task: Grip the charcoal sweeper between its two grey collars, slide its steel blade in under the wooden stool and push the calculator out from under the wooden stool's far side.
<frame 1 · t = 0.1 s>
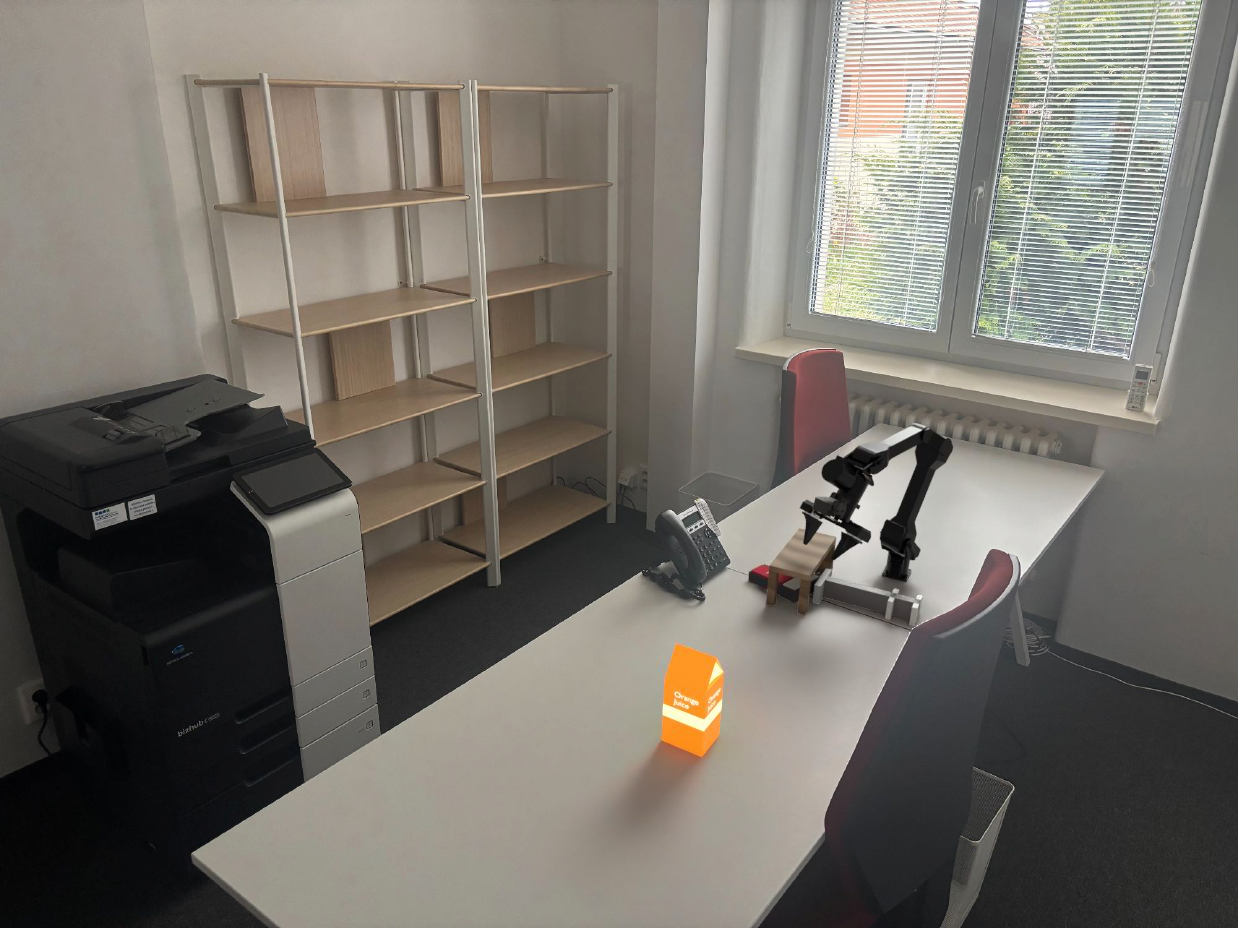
hand: (818, 551, 210), 15 cm above the table, tool tilted 35°, fingers open, 9 cm apart
sweeper: (902, 616, 212), on the table
wooden stool: (799, 588, 223), on the table
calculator: (783, 586, 225), on the table
orange juice: (690, 738, 169), on the table
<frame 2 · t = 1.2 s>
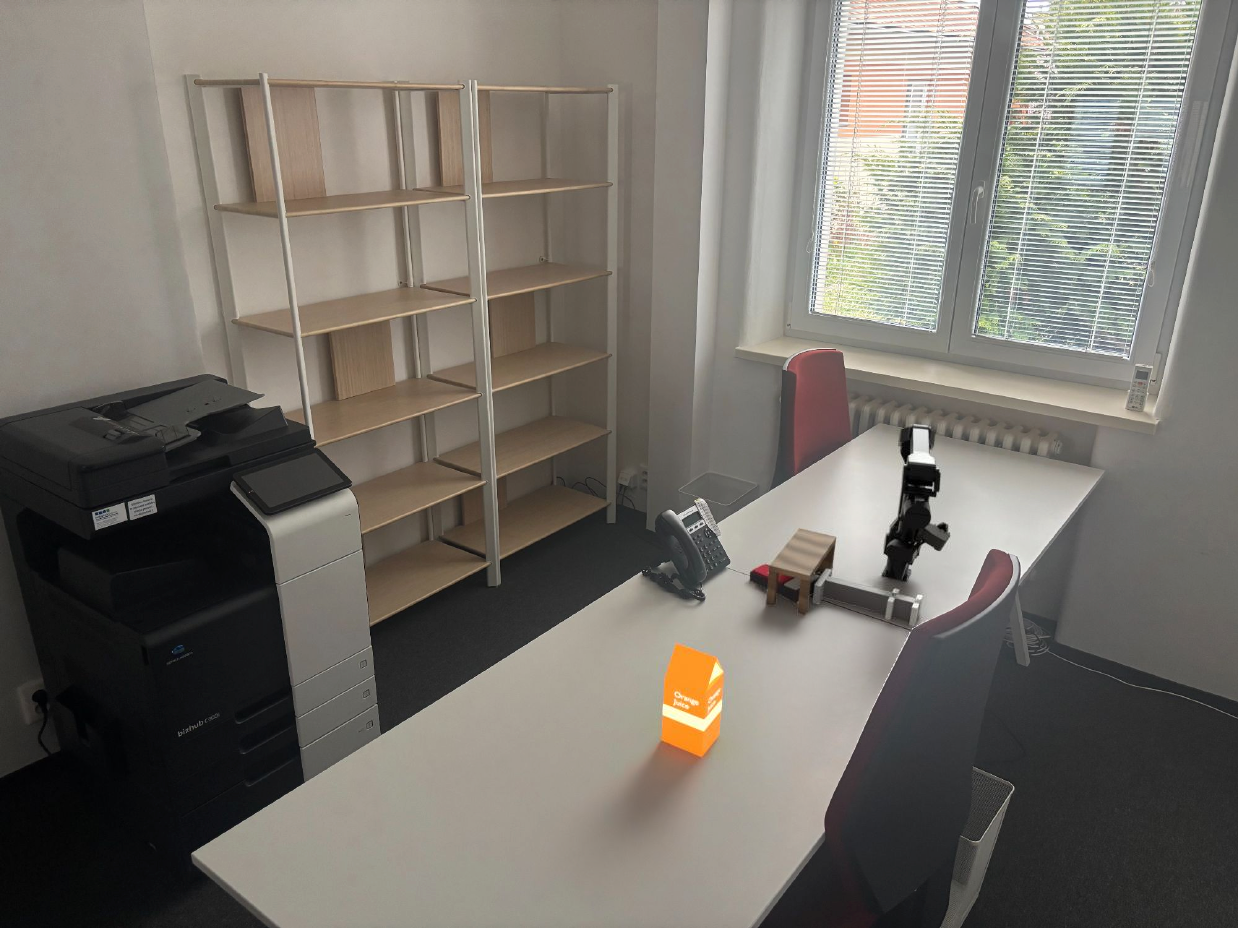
hand: (904, 571, 208), 12 cm above the table, tool pointing down, fingers open, 9 cm apart
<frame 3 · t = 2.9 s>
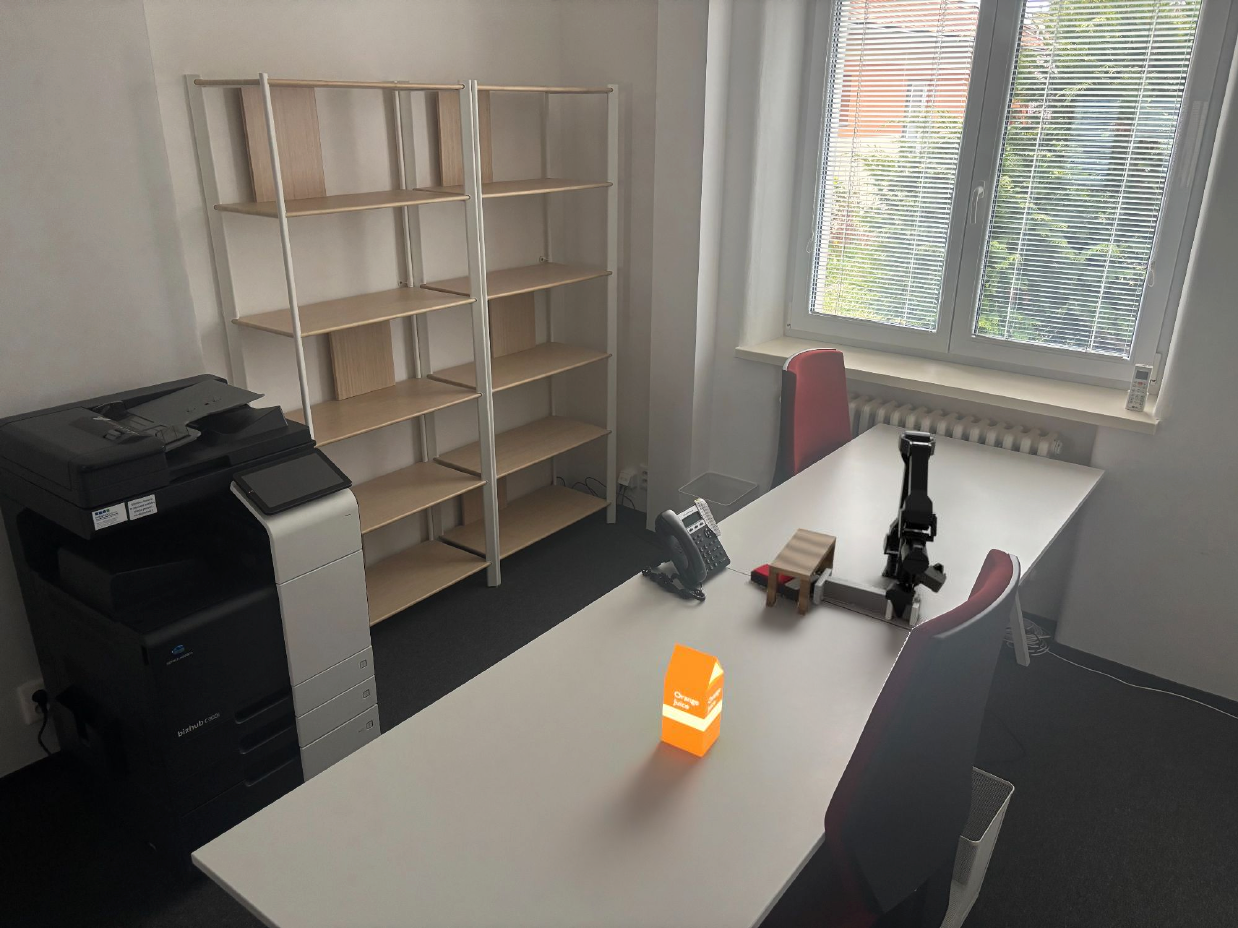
hand: (901, 611, 212), 1 cm above the table, tool pointing down, fingers closed on sweeper, 6 cm apart
sweeper: (902, 615, 212), on the table, touching gripper
everything else where it was.
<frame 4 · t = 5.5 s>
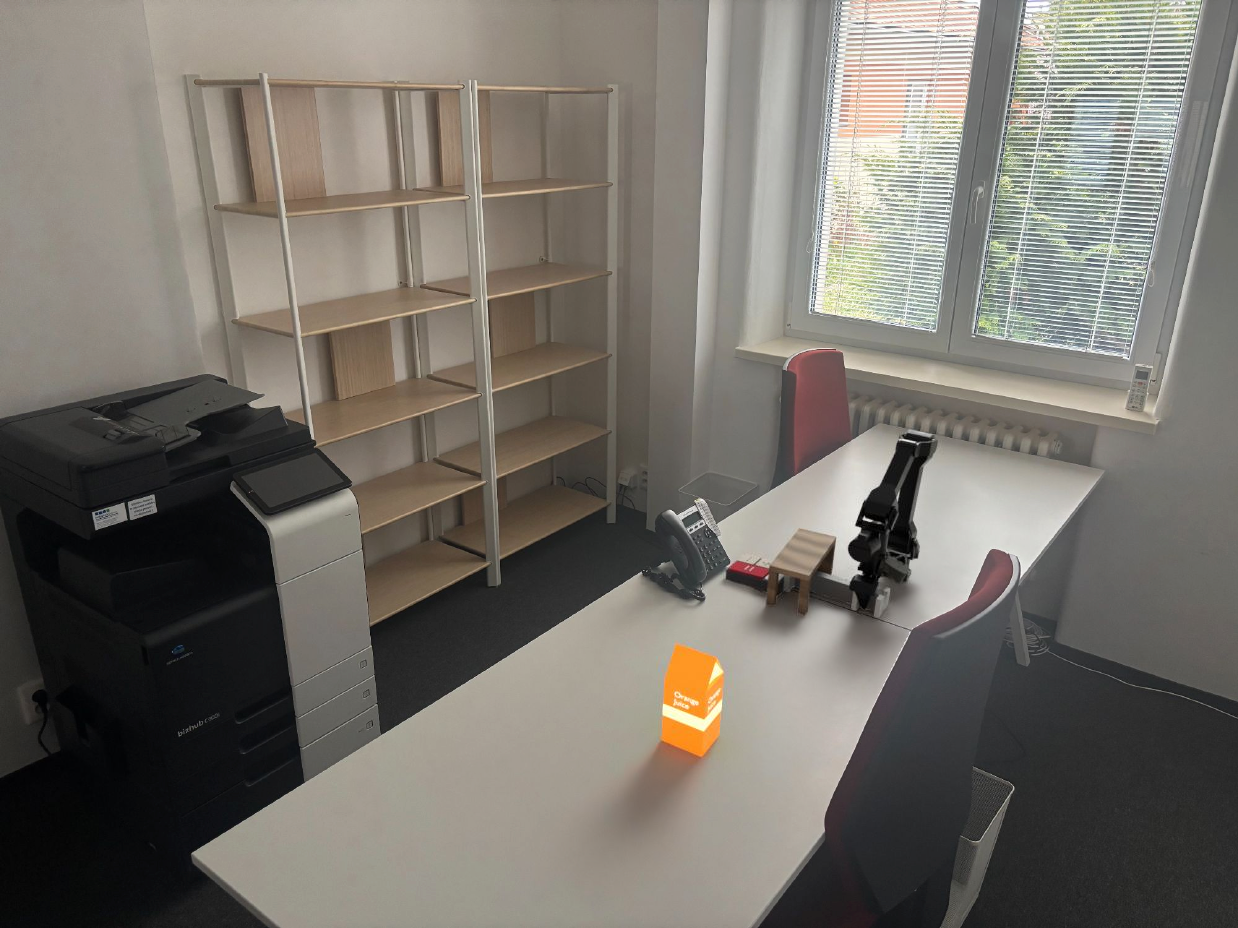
hand: (866, 602, 216), 1 cm above the table, tool pointing down, fingers closed on sweeper, 7 cm apart
sweeper: (869, 607, 215), on the table, touching gripper
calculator: (759, 580, 228), on the table
everything else where it was.
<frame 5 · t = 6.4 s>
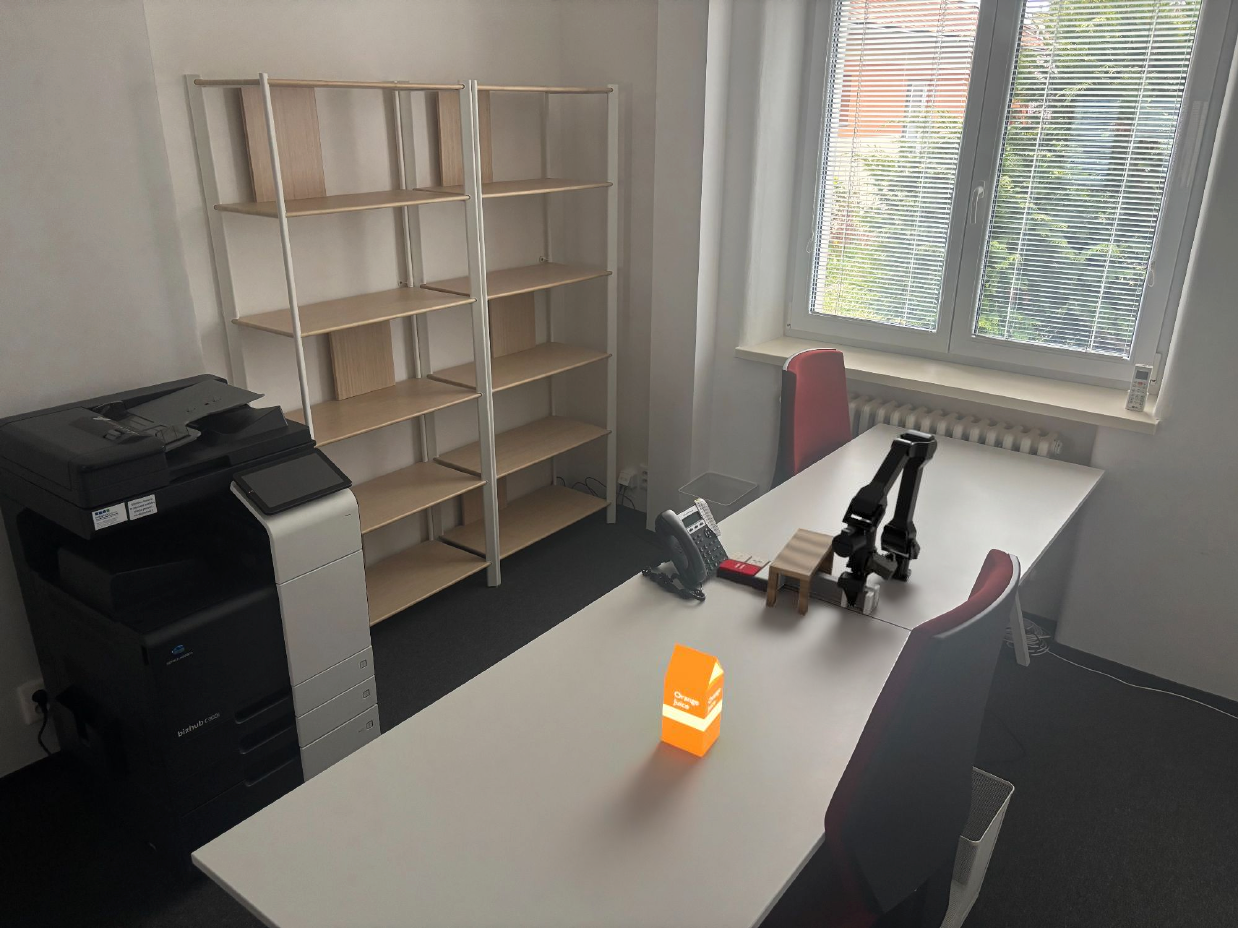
hand: (855, 599, 217), 1 cm above the table, tool pointing down, fingers closed on sweeper, 7 cm apart
sweeper: (859, 604, 216), on the table, touching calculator, gripper
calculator: (750, 578, 229), on the table, touching sweeper
everything else where it was.
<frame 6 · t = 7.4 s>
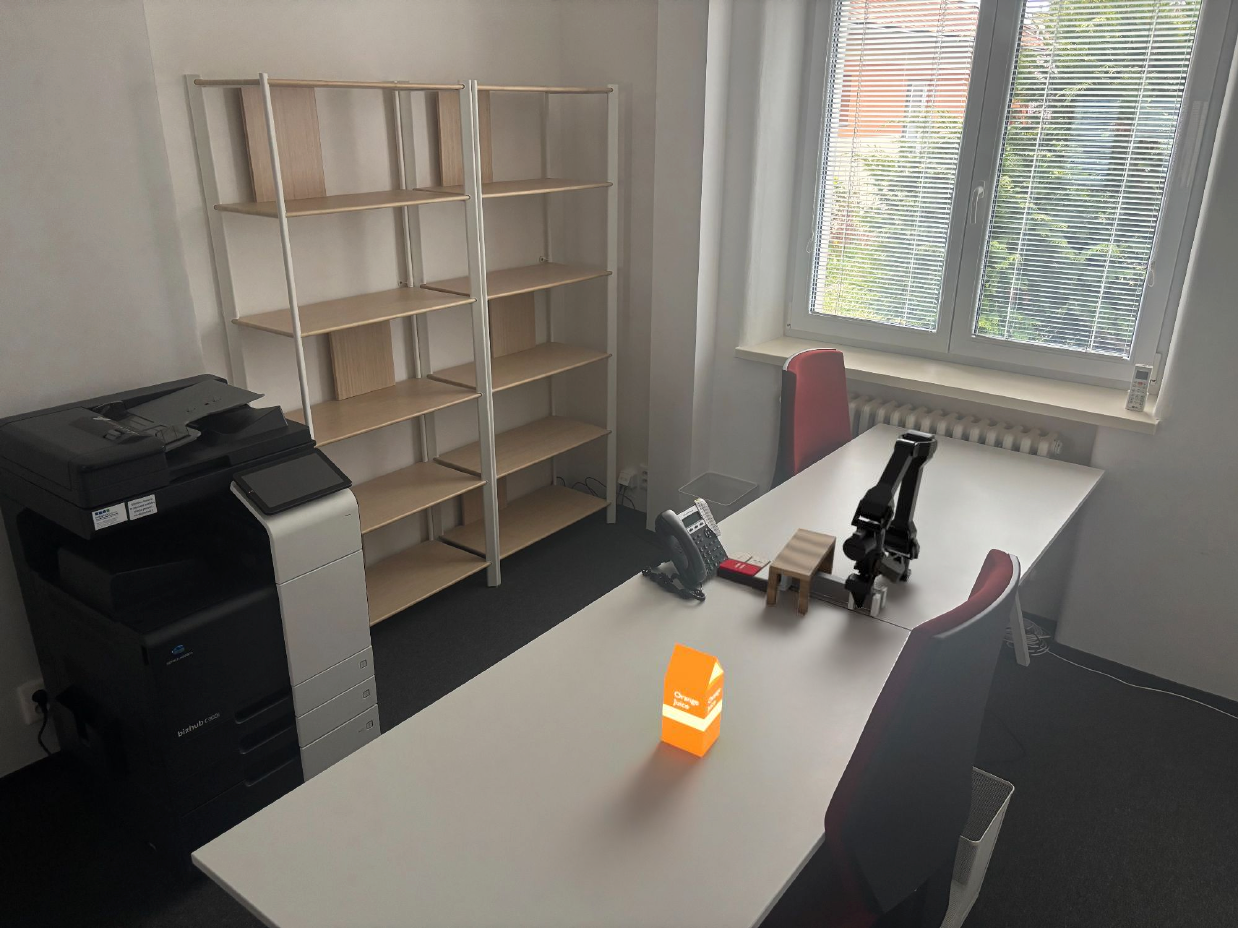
hand: (862, 601, 216), 1 cm above the table, tool pointing down, fingers closed on sweeper, 7 cm apart
sweeper: (866, 606, 216), on the table, touching gripper
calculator: (750, 578, 229), on the table
everything else where it was.
when the fingers open (1 cm above the table, at t = 9.4 s): sweeper stays where it is, on the table.
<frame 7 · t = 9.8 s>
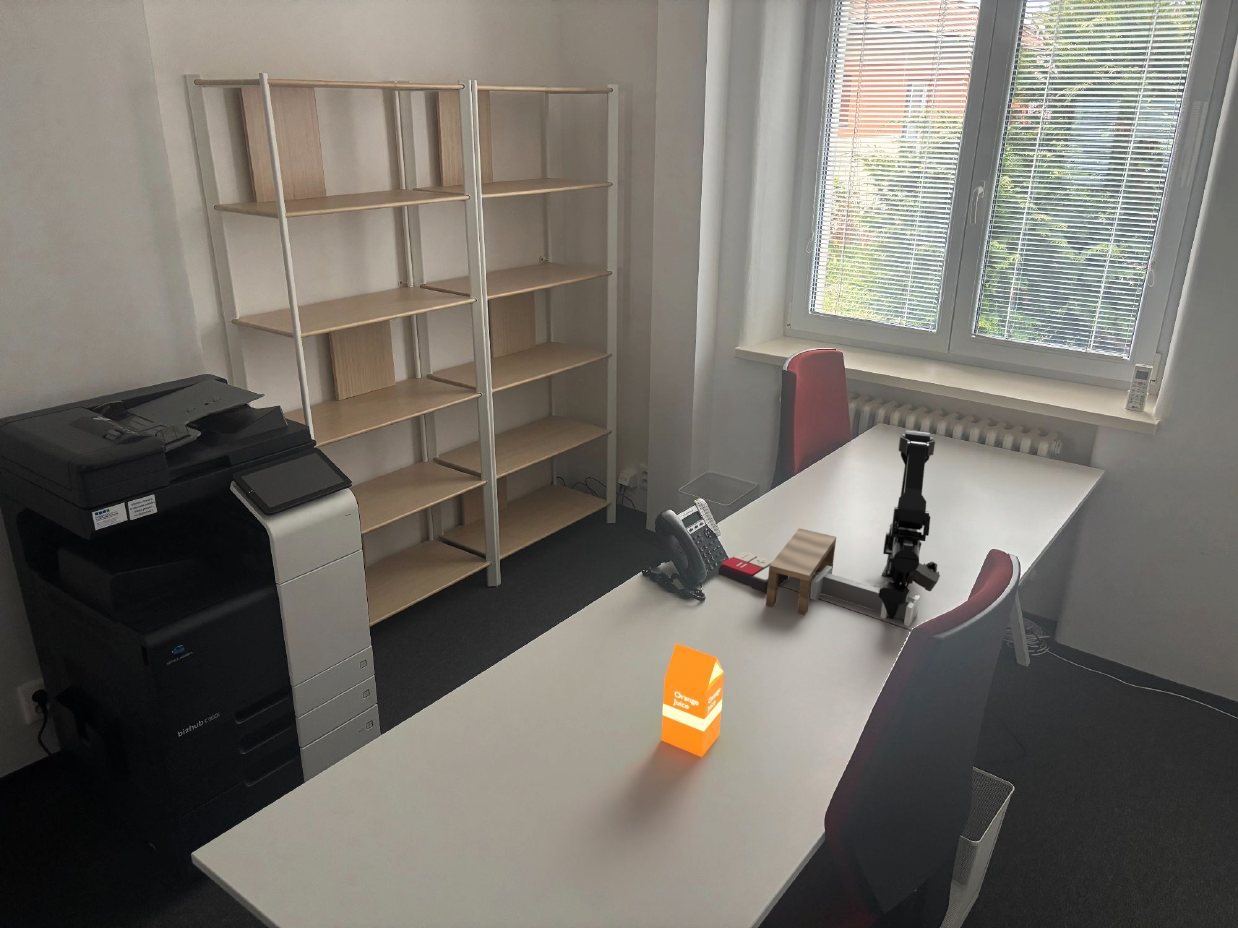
hand: (895, 610, 213), 1 cm above the table, tool pointing down, fingers open, 9 cm apart
sweeper: (898, 615, 212), on the table
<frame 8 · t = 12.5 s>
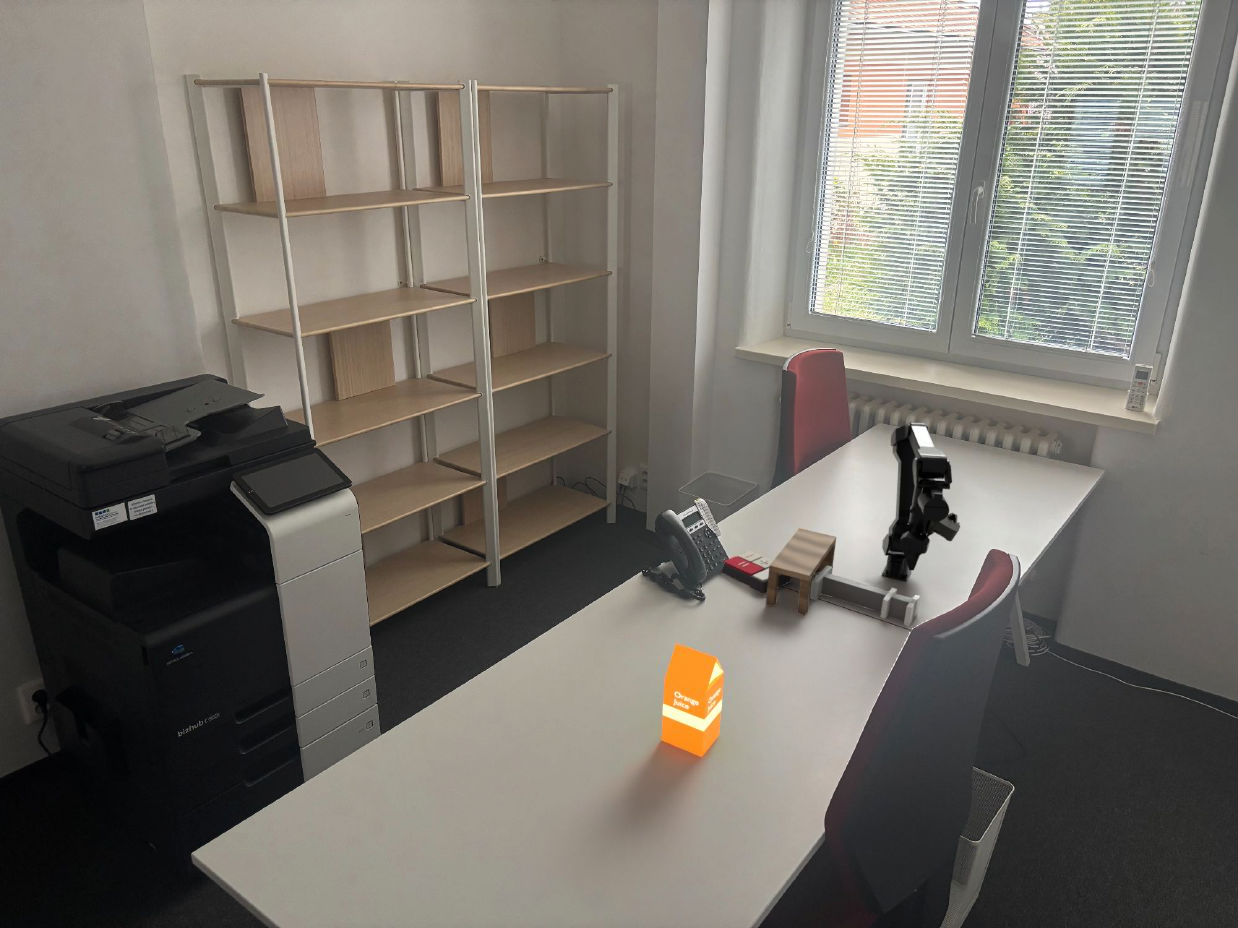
hand: (915, 562, 213), 12 cm above the table, tool pointing down, fingers open, 9 cm apart
at the end: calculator inside the target area (5.1 cm from its centre), on the table; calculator moved 8.3 cm from its start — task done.
